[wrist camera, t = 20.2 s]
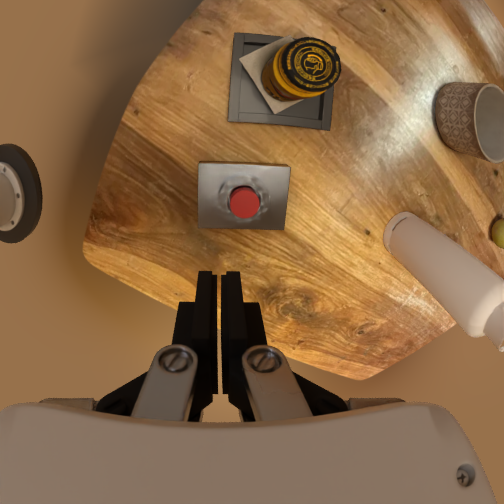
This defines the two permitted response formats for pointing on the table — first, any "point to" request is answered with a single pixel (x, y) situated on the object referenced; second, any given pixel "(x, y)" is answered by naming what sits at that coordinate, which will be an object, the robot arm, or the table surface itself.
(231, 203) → the button
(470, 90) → the planter
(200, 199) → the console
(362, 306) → the table surface
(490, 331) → the bottle
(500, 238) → the fruit
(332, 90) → the tray
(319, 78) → the condiment
